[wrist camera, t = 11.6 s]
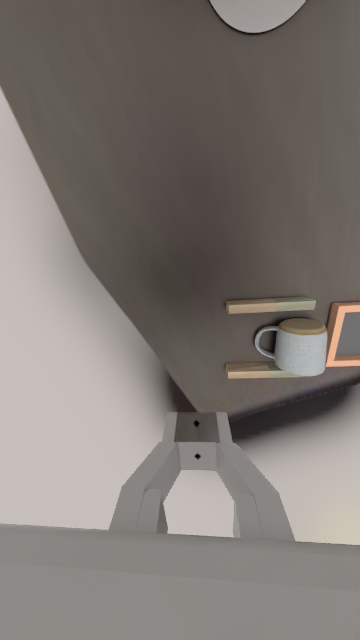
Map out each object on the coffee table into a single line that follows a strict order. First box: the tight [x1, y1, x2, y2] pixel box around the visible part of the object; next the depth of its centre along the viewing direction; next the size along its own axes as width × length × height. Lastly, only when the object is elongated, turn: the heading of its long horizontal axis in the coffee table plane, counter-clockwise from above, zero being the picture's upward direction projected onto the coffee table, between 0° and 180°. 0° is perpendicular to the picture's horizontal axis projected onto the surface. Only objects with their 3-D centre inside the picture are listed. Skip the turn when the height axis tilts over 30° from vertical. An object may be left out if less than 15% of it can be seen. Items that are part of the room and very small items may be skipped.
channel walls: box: [226, 296, 316, 378], centre depth 35 cm, size 15×14×3 cm
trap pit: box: [325, 302, 360, 367], centre depth 34 cm, size 12×10×2 cm
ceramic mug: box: [255, 318, 328, 376], centre depth 33 cm, size 11×8×8 cm
